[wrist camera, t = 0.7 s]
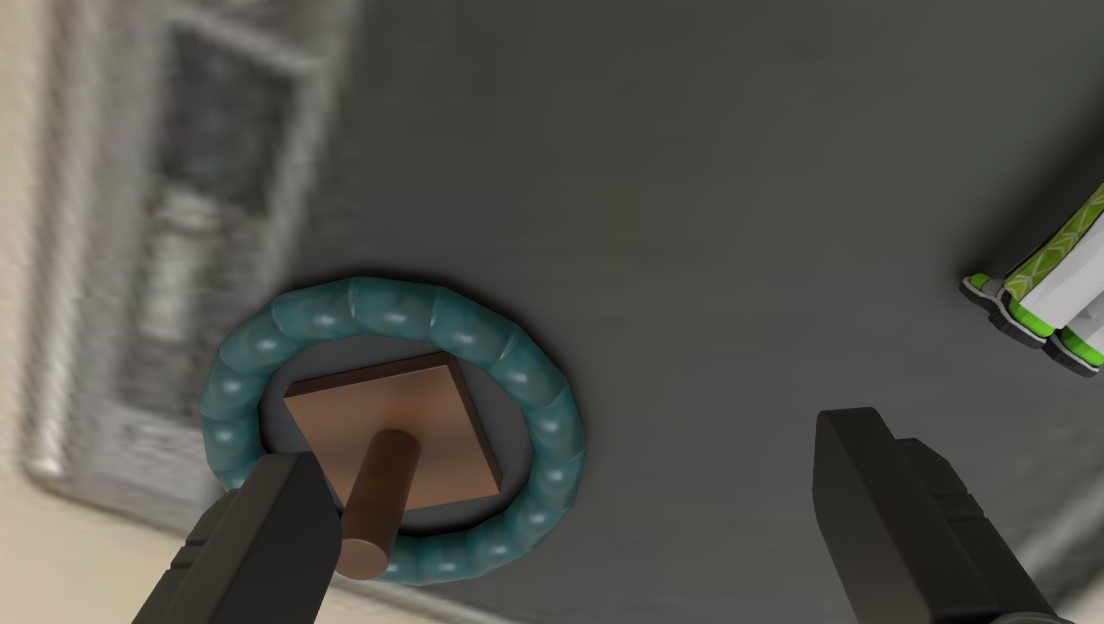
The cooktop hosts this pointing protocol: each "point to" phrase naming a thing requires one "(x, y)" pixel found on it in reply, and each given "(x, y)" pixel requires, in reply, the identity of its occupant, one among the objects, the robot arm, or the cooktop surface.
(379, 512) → the ring toss
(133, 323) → the cooktop surface
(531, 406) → the ring
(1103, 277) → the figurine
